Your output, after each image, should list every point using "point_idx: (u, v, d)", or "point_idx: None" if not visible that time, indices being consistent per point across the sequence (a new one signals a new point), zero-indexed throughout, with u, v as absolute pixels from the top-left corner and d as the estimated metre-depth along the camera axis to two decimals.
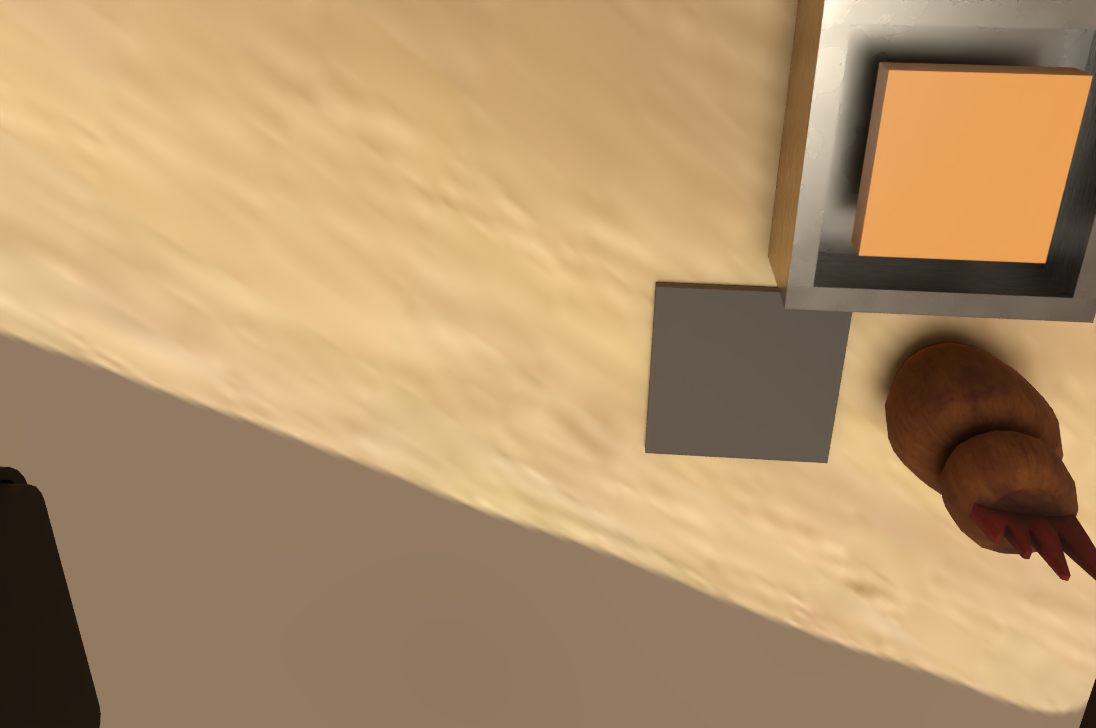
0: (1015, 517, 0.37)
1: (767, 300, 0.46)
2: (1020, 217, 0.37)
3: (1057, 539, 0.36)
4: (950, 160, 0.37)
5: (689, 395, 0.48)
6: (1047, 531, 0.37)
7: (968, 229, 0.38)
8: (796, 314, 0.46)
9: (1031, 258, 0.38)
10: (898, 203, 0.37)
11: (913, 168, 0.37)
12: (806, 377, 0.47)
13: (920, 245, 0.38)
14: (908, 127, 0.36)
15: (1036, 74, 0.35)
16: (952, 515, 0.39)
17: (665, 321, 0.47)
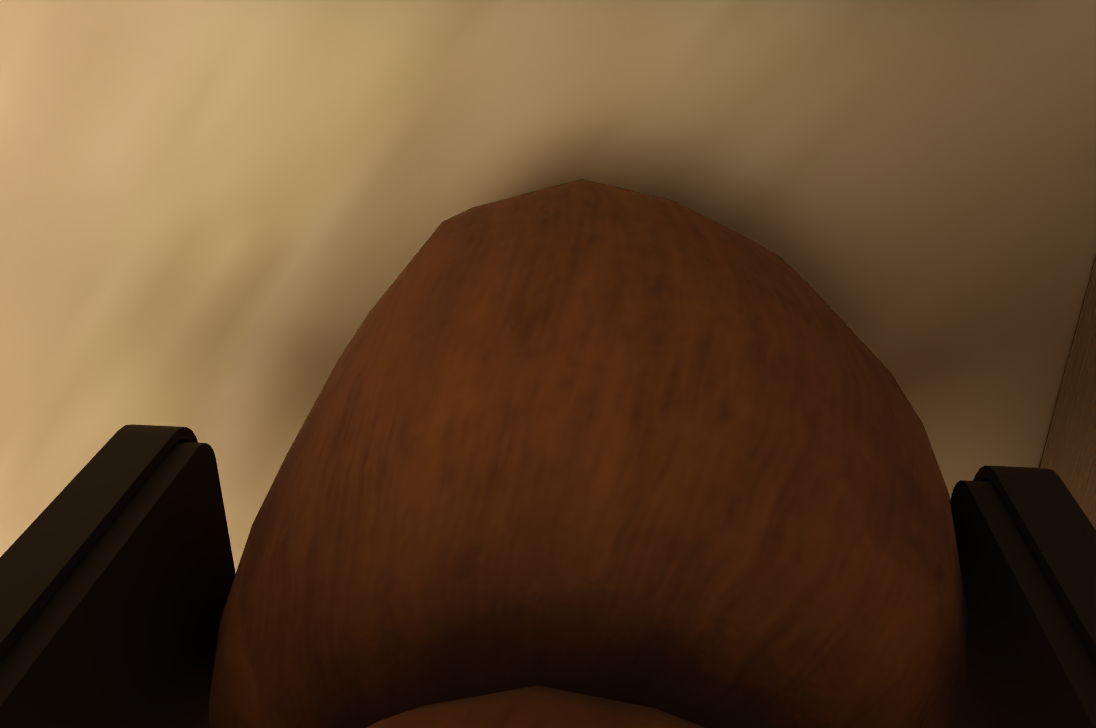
0: None
1: None
2: None
3: None
4: None
5: None
6: None
7: None
8: None
9: None
10: None
11: None
12: None
13: None
14: None
15: None
16: None
17: None
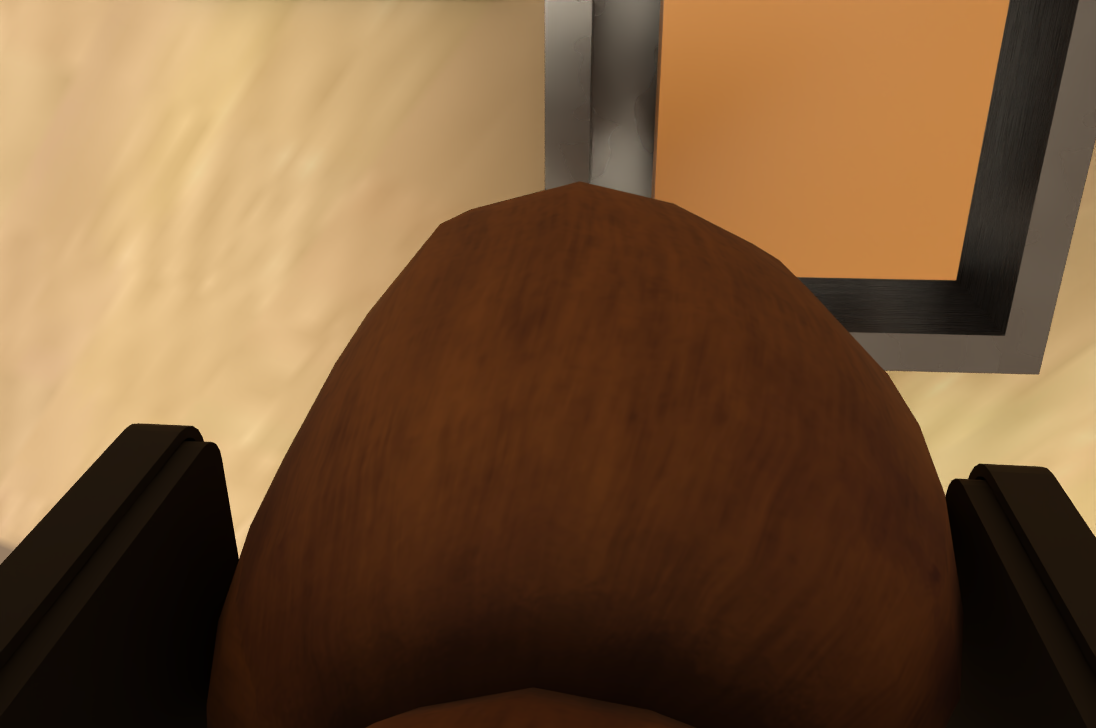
0: None
1: None
2: (731, 221, 0.23)
3: None
4: (840, 89, 0.21)
5: None
6: None
7: (712, 143, 0.22)
8: None
9: None
10: (766, 11, 0.21)
11: (831, 27, 0.21)
12: None
13: (684, 64, 0.21)
14: (909, 4, 0.20)
15: (970, 199, 0.22)
16: None
17: None
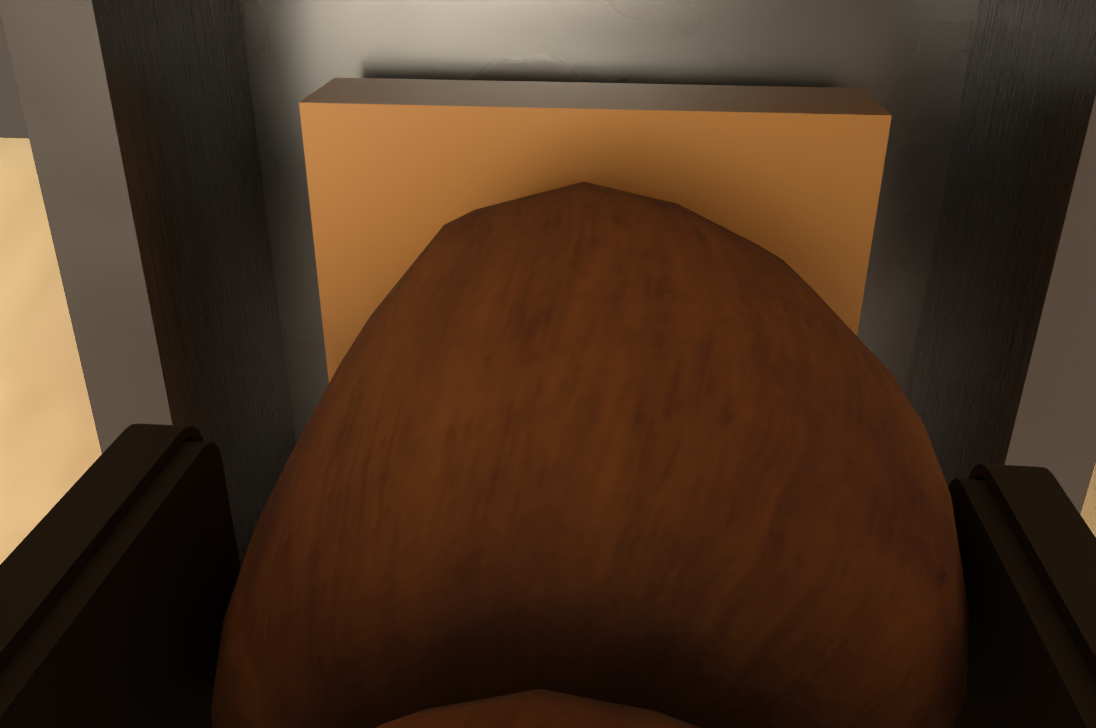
0: None
1: None
2: None
3: None
4: None
5: None
6: None
7: None
8: None
9: None
10: (476, 200, 0.12)
11: None
12: None
13: (355, 277, 0.13)
14: (711, 195, 0.12)
15: None
16: None
17: None
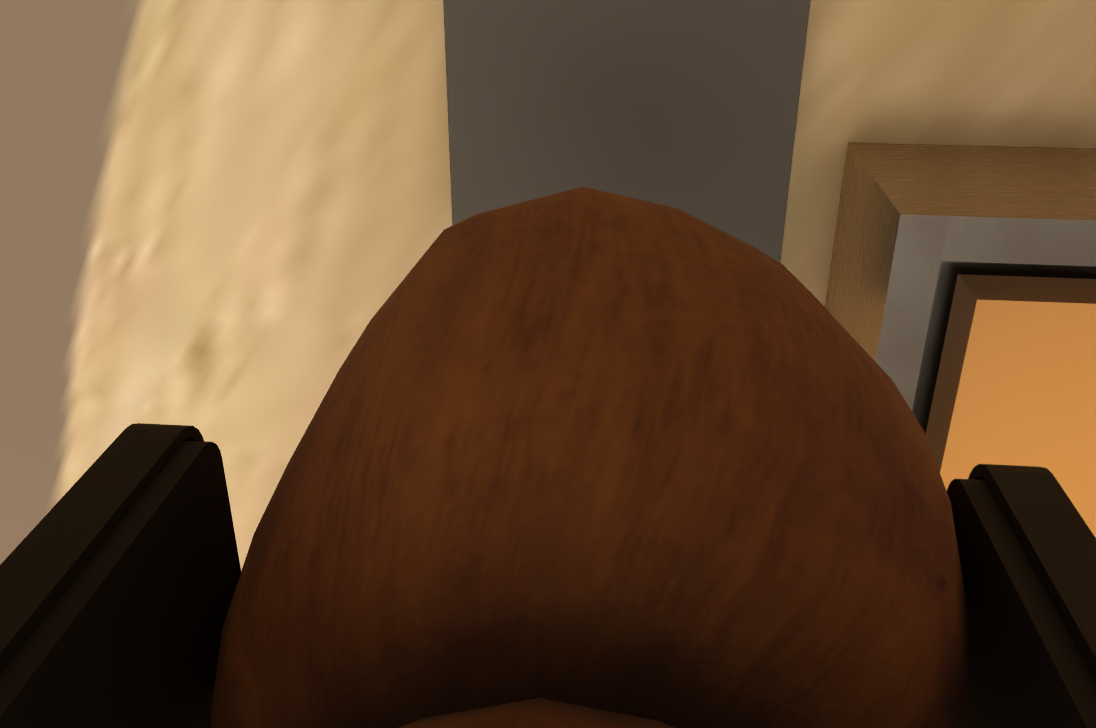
0: None
1: (775, 151, 0.26)
2: None
3: None
4: None
5: (579, 19, 0.25)
6: None
7: (996, 445, 0.25)
8: (745, 202, 0.26)
9: None
10: (1059, 348, 0.24)
11: None
12: None
13: (980, 385, 0.24)
14: None
15: None
16: None
17: None
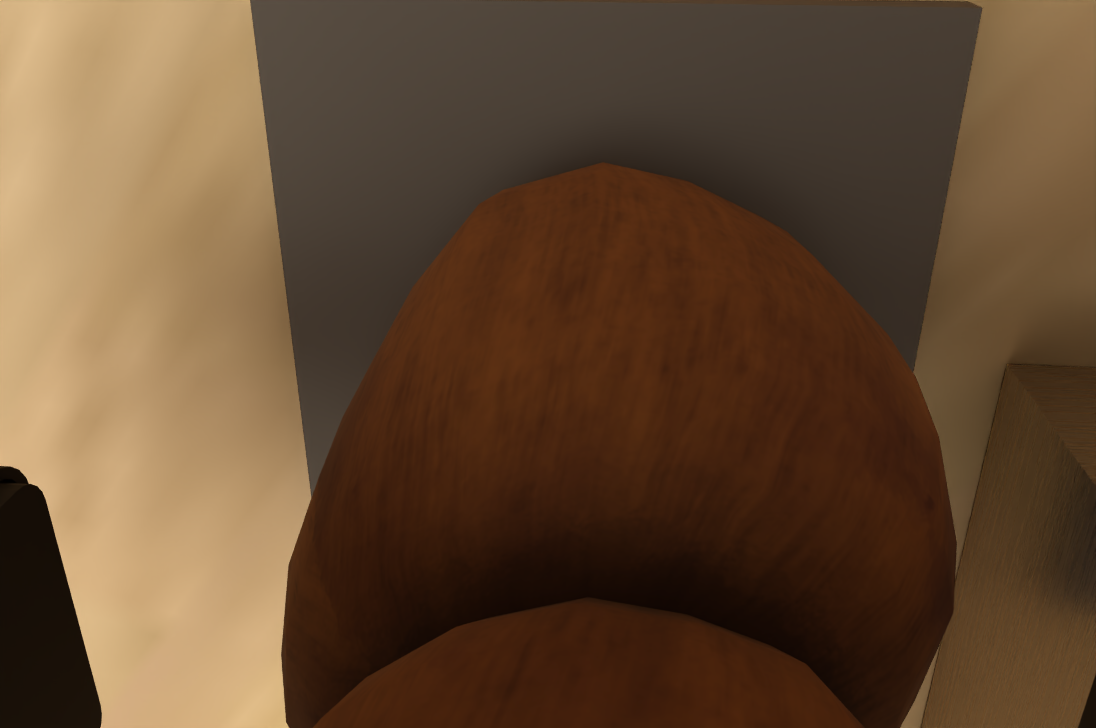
0: None
1: None
2: None
3: None
4: None
5: (518, 156, 0.13)
6: None
7: None
8: None
9: None
10: None
11: None
12: None
13: None
14: None
15: None
16: None
17: (829, 51, 0.12)
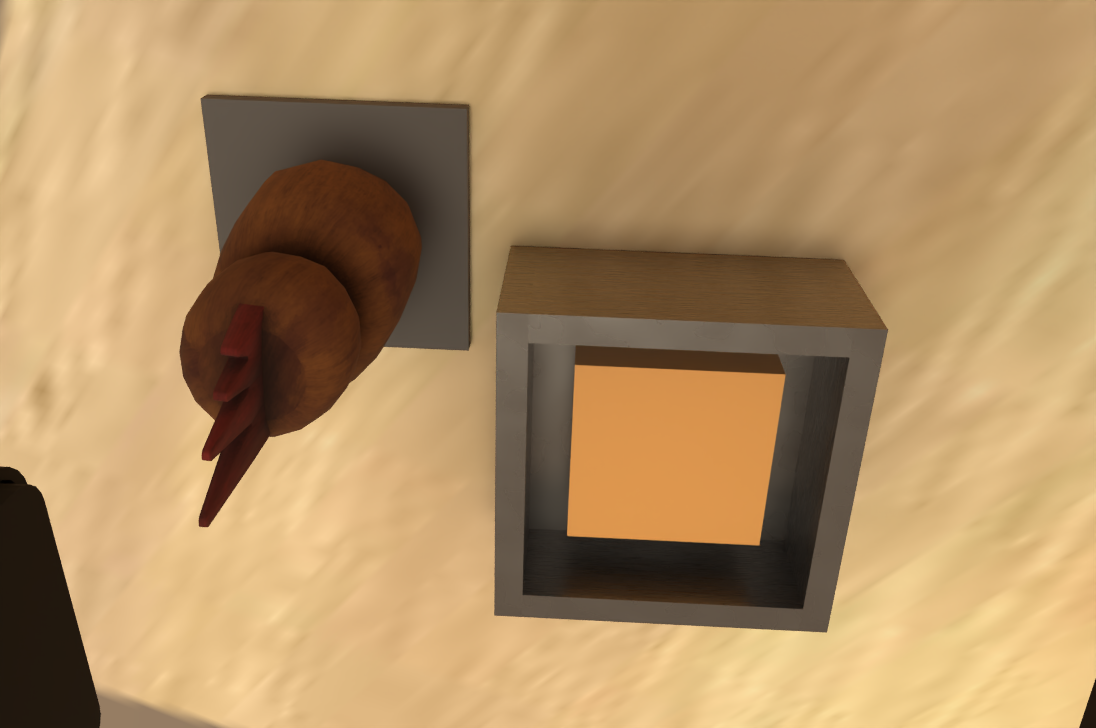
0: (257, 365, 0.25)
1: (455, 252, 0.36)
2: (617, 508, 0.36)
3: (243, 427, 0.25)
4: (682, 440, 0.34)
5: (305, 159, 0.34)
6: (249, 411, 0.25)
7: (605, 465, 0.35)
8: (438, 287, 0.36)
9: (572, 523, 0.36)
10: (636, 398, 0.34)
11: (675, 408, 0.34)
12: None
13: (586, 423, 0.34)
14: (722, 398, 0.34)
15: (765, 501, 0.35)
16: (224, 279, 0.26)
17: (416, 122, 0.34)
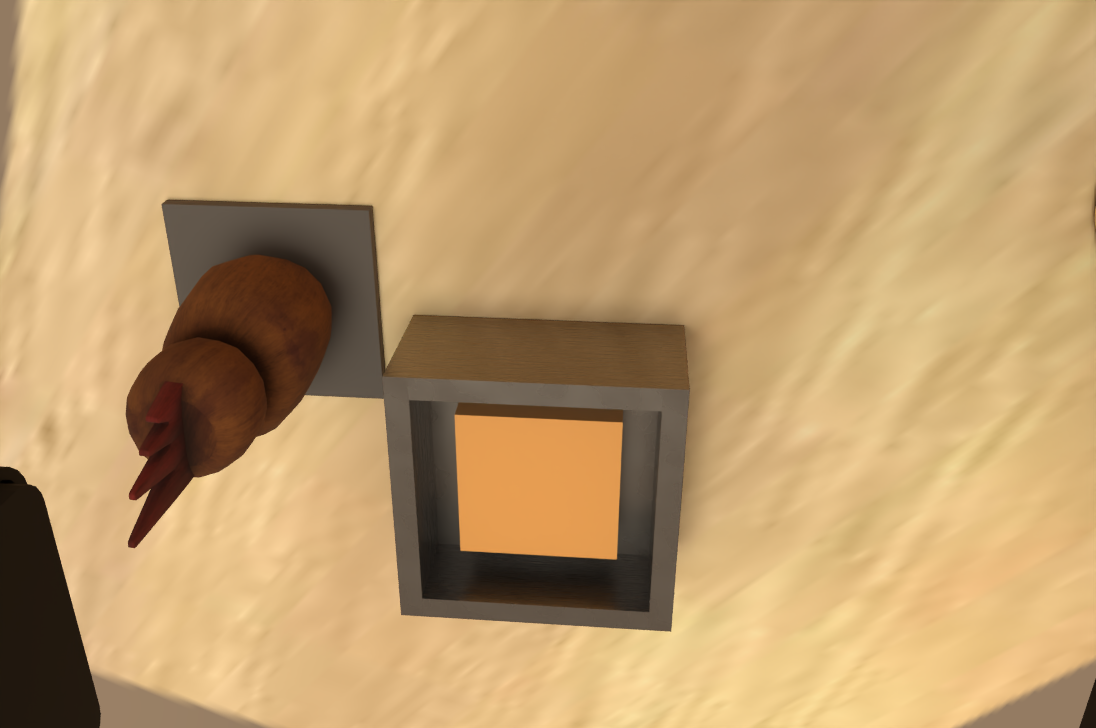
0: (178, 427, 0.34)
1: (368, 321, 0.44)
2: (499, 528, 0.44)
3: (167, 472, 0.33)
4: (546, 474, 0.42)
5: (245, 249, 0.43)
6: (172, 461, 0.34)
7: (485, 494, 0.43)
8: (356, 348, 0.45)
9: (463, 540, 0.44)
10: (505, 441, 0.42)
11: (538, 448, 0.42)
12: None
13: (468, 461, 0.42)
14: (574, 441, 0.42)
15: None
16: (156, 361, 0.34)
17: (329, 221, 0.42)
